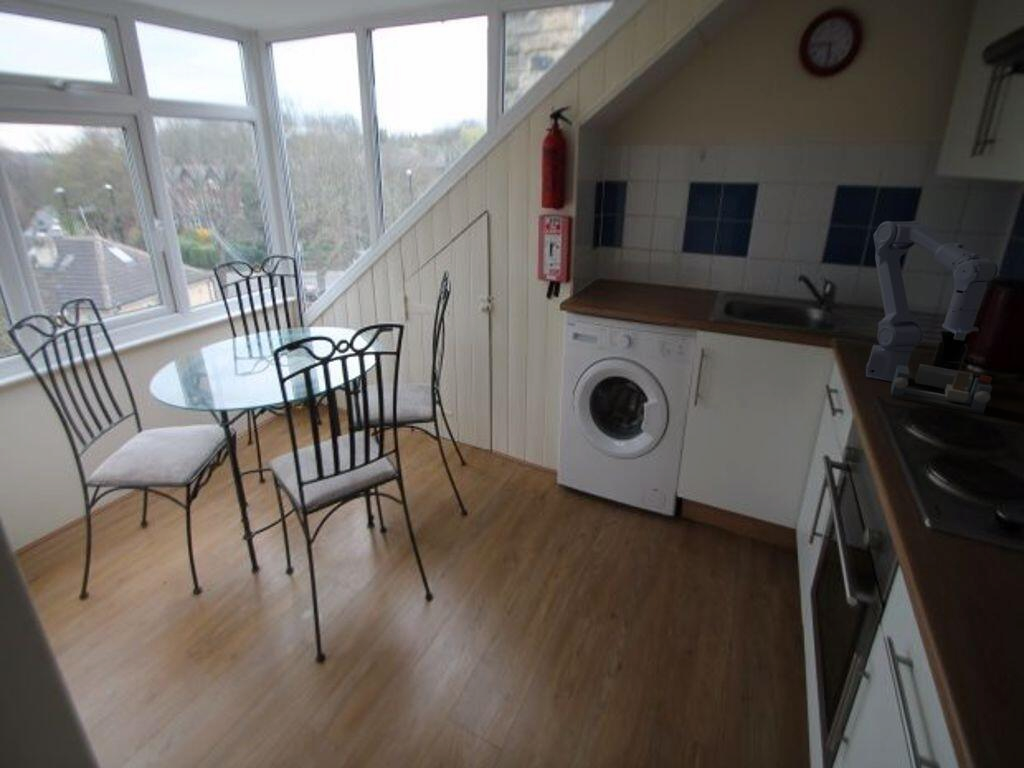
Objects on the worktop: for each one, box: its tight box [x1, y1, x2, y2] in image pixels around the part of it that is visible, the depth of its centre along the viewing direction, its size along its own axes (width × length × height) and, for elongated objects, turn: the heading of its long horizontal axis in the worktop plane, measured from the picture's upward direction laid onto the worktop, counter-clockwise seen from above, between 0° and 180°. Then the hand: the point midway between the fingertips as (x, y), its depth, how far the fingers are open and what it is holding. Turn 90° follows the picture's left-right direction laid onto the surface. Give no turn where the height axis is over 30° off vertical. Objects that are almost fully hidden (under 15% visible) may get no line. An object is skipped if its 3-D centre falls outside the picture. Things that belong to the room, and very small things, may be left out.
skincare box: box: [914, 363, 974, 393], centre depth 149 cm, size 6×4×12 cm
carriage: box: [944, 369, 971, 403], centre depth 136 cm, size 4×5×7 cm
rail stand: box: [890, 365, 993, 415], centre depth 139 cm, size 20×8×7 cm, turn 58°
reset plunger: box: [978, 374, 993, 384], centre depth 133 cm, size 2×2×1 cm
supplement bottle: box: [930, 340, 968, 371], centre depth 157 cm, size 7×7×12 cm
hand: (946, 360), depth 138 cm, fingers closed
